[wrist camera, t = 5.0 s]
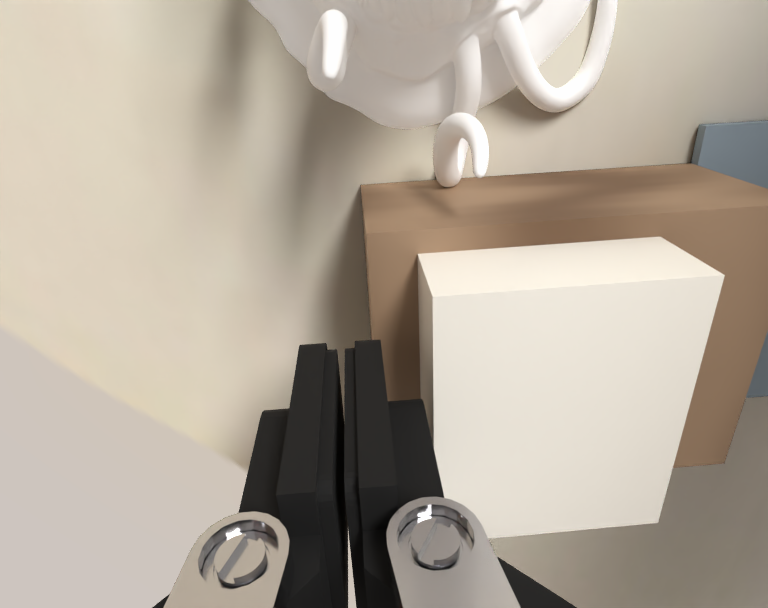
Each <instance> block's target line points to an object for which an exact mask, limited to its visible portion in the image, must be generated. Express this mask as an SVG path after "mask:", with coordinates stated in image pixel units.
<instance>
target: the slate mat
mask: <svg viewBox="0 0 768 608" xmlns="http://www.w3.org/2000/svg"><path fill="white" fill-rule="evenodd" d="M691 163H692V164H695V165H698V166H701V167H704V168H707V169H710V170H713V171H716V172H719V173H722V174H725V175H728V176H731V177H734V178H737V179H740V180H743V181H746V182H749V183H752V184H755V185H758V186H761V187H764V188H767V189H768V120H765V121H749V122H733V123H717V124H701V125H699V128H698V133H697V137H696V142H695V147H694V151H693V156H692V161H691ZM762 396H768V331H767V334H766V337H765V340H764V343H763V346H762V349H761V353H760V356H759V359H758V362H757V365H756V368H755V371H754V374H753V377H752V380H751V383H750V386H749V389H748V392H747V395H746V398H750V397H762Z"/></svg>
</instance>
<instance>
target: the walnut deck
mask: <svg viewBox="0 0 768 608" xmlns="http://www.w3.org/2000/svg"><path fill="white" fill-rule="evenodd" d="M361 198H362V212H363V227H364V241H365V255H366V270H367V284H368V298H369V312H370V327H371V340H381V348H382V357H383V365H384V374H385V382H386V391H387V400H388V401H399V400H412V399H421V393H420V347H419V300H418V254H423V253H437V252H451V251H465V250H479V249H493V248H507V247H521V246H535V245H549V244H563V243H577V242H591V241H605V240H619V239H633V238H647V237H662V238H664V239H665V240H667V241H669V242H670V243H672V244H674V245H675V246H677V247H679V248H680V249H682V250H684V251H685V252H687V253H689V254H690V255H692V256H694V257H695V258H697V259H699V260H700V261H702V262H704V263H705V264H707V265H709V266H710V267H712V268H714V269H715V270H717V271H719V272H720V273H722V274H724V275H725V276H724V280H723V284H722V287H721V291H720V295H719V299H718V302H717V306H716V310H715V313H714V317H713V321H712V324H711V328H710V332H709V336H708V339H707V343H706V347H705V350H704V354H703V358H702V362H701V365H700V369H699V373H698V376H697V380H696V384H695V388H694V391H693V395H692V399H691V402H690V406H689V410H688V413H687V417H686V421H685V425H684V428H683V432H682V436H681V439H680V443H679V447H678V451H677V454H676V458H675V462H674V465H673V468H677V467H688V466H699V465H711V464H722V463H724V462H725V459H726V456H727V453H728V450H729V447H730V444H731V441H732V438H733V435H734V432H735V429H736V426H737V423H738V420H739V417H740V414H741V411H742V407H743V404H744V401H745V398H746V395H747V392H748V389H749V386H750V383H751V380H752V377H753V374H754V371H755V368H756V365H757V362H758V359H759V356H760V353H761V349H762V346H763V343H764V340H765V337H766V334H767V331H768V189H767V188H764V187H761V186H758V185H755V184H752V183H749V182H746V181H743V180H740V179H737V178H734V177H731V176H728V175H725V174H722V173H719V172H716V171H713V170H710V169H707V168H704V167H701V166H698V165H695V164H692V163H686V164H671V165H656V166H641V167H625V168H610V169H595V170H580V171H565V172H549V173H534V174H519V175H504V176H489V177H482V178H478V177H473V178H461V179H460V181H459V183H458V184H457V185H455V186H453V187H444V186H442V185H441V184H440V183H439V182H438V181H437V180H428V181H413V182H397V183H382V184H367V185H361Z"/></svg>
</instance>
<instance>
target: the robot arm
mask: <svg viewBox="0 0 768 608" xmlns="http://www.w3.org/2000/svg"><path fill="white" fill-rule="evenodd" d="M348 530H349V540H350V549H351V559H352V568H353V578H354V587H355V596H356V607H357V608H577V607H575V606H573V605H572V604H570V603H569V602H567V601H566V600H564V599H563V598H561V597H559V596H558V595H556V594H555V593H553V592H552V591H550V590H548V589H547V588H545V587H544V586H542V585H541V584H539V583H538V582H536V581H534V580H533V579H531V578H530V577H528V576H527V575H525V574H523V573H522V572H520V571H519V570H517V569H516V568H514V567H513V566H511V565H509V564H508V563H506V562H505V561H503V560H502V559H500V558H498V557H497V556H496V554H495V552H494V550H493V548H492V546H491V543H490V541H489V539H488V537H487V535H486V533H485V531H484V528H483V526H482V524H481V523H480V522H479V520H478V519H477V517H476V516H475V514H474V513H473V512H471V511H470V510H469V509H468V508H466V507H465V506H464V505H462V504H460V503H458V502H456V501H453V500H451V499H447V498H444V493H443V489H442V484H441V480H440V475H439V470H438V466H437V461H436V456H435V452H434V447H433V443H432V438H431V433H430V429H429V424H428V420H427V415H426V410H425V406H424V402H423V400H422V399H412V400H399V401H388V400H387V391H386V382H385V374H384V365H383V357H382V348H381V340H365V341H355V348H349V349H345V419H344V415H343V405H342V395H341V384H340V374H339V364H338V354H337V349H335V350H327V344H326V343H322V344H308V345H300V346H299V351H298V357H297V364H296V370H295V377H294V383H293V389H292V396H291V402H290V409H278V410H265V411H263V412H262V415H261V418H260V422H259V427H258V431H257V435H256V440H255V444H254V448H253V453H252V457H251V461H250V466H249V470H248V474H247V479H246V484H245V487H244V492H243V496H242V501H241V505H240V509H239V513H237V514H235V515H231V516H228V517H225V518H223V519H222V520H220V521H218V522H217V523H215V524H213V525H212V526H210V528H208V529H207V530H206V531H205V532H204V533H203V534H202V535H201V536H200V537H199V538H198V540H197V541H196V543H195V544H194V546H193V547H192V549H191V551H190V553H189V555H188V557H187V559H186V561H185V563H184V565H183V568H182V570H181V572H180V574H179V576H178V578H177V580H176V582H175V584H174V586H173V589H172V591H171V593H170V594H169V595H168V596H167V597H165V598H164V599H163V600H161V601H160V602H159V603H158V604H156V605H155V606H154V607H153V608H348Z"/></svg>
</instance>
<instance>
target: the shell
mask: <svg viewBox="0 0 768 608" xmlns="http://www.w3.org/2000/svg"><path fill="white" fill-rule="evenodd" d="M248 1H249V2H250V3H251V4H252V6H253V7H254V8H255V9H256V10H257V11H258V12H259V13H260V14H261V15H263V16H264V17H265V18H266V19H267V20H268V21H269V22H270V23H271V24H272V25H273V26H274V28H275V29H276V31H277V32H278V34H279V36H280V39H281V41H282V43H283V45H284V47H285V48H286V50H287V51H288V52H289V53H290V54H291V55H292V56H293V57H294V58H295V59H297V60H298V61H299V62H300V63H301V64H302V65H304V66H305V67H306V68H307V75H308V78H309V80H310V82H311V84H312V85H313V86H314V87H315V88H317V89H319V90H321V91H324V93H325V94H326V95H327V96H328V97H329V98H330V99H332V100H335V101H337V102H340V103H342V104H345V105H347V106H350V107H352V108H354V109H356V110H357V111H359V112H361V113H362V114H364V115H365V116H367V117H368V118H370V119H371V120H373V121H375V122H376V123H378V124H381V125H383V126H387V127H391V128H396V129H419V128H423V127H427V126H431V125H435V124H439V123H441V124H440V125H439V127H438V129H437V132H436V135H435V138H434V144H433V165H434V171H435V176H436V178H437V181H438V182H439V183H440V184H441V185H442V186H444V187H453V186H455V185H457V184H458V183H459V181H460V179H461V177H462V173H463V169H464V164H465V159H466V154H467V150H468V145H469V146H470V149H471V153H472V162H473V173H474V175H475V176H476V177H478V178H482V177H483V176H484V175H485V173H486V170H487V166H488V159H489V145H488V139H487V135H486V132H485V130H484V128H483V126H482V124H481V123H480V122H479V121H478V120H477V119H476V118H475V117H476V113H477V109H480V108H482V107H484V106H486V105H489V104H490V103H492V102H494V101H496V100H498V99H499V98H501V97H503V96H504V95H506V94H507V93H509V92H510V91H511V90H513V89H514V88H515V87H517V86H518V88H519V89H520V91H521V92H522V93H523V95H524V96H525V97H526V98H527V99H528V100H529V101H530V102H531V103H532V104H534V105H535V106H536V107H538V108H540V109H542V110H544V111H547V112H561V111H564V110H567V109H569V108H571V107H573V106H574V105H576V104H577V103H579V102H580V101H581V100H583V99H584V98H585V97H586V96H587V95H588V94H589V93H590V92H591V91H592V89H593V88H594V87H595V85H596V83H597V82H598V80H599V78H600V76H601V73H602V70H603V68H604V65H605V62H606V59H607V56H608V52H609V49H610V45H611V41H612V37H613V33H614V27H615V21H616V13H617V2H618V0H598V4H597V10H596V16H595V22H594V26H593V31H592V34H591V38H590V41H589V45H588V48H587V51H586V54H585V56H584V59H583V62H582V64H581V66H580V68H579V70H578V72H577V73H576V75H575V76H574V77H573V78H572V79H571V80H570V81H569V82H568V83H567V84H565V85H564V86H562V87H560V88H554V87H552V86H551V85H549V84H548V83H547V82H546V80H545V79H544V78H543V77H542V75H541V73H540V72H539V70H538V67H539V66H540V65H541V64H542V63H543V62H545V61H546V60H547V59H548V58H549V57H550V56H551V55H552V54H553V53H554V52H555V51H556V49H557V48H558V47H559V46H560V45H561V44H562V43H563V42H564V40H565V39H566V38H567V37H568V36H569V35H570V34H571V32H572V31H573V30H574V29H575V28H576V26H577V25H578V23H579V22H580V20H581V19H582V17H583V15H584V13H585V11H586V9H587V7H588V5H589V3H590V0H248Z"/></svg>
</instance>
